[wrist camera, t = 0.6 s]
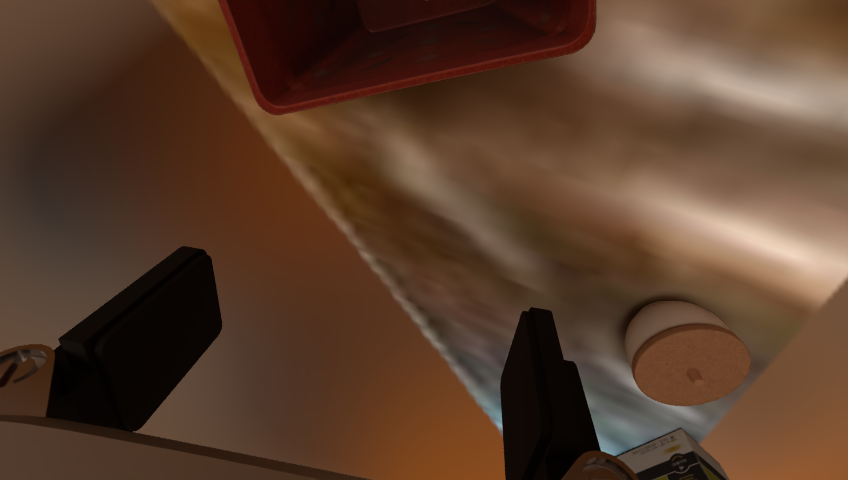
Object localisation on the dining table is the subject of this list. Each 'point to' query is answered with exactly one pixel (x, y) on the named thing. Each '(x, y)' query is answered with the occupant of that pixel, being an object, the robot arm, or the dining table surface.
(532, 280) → the dining table surface
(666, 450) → the tea box
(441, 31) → the plant pot
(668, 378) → the lidded jar
